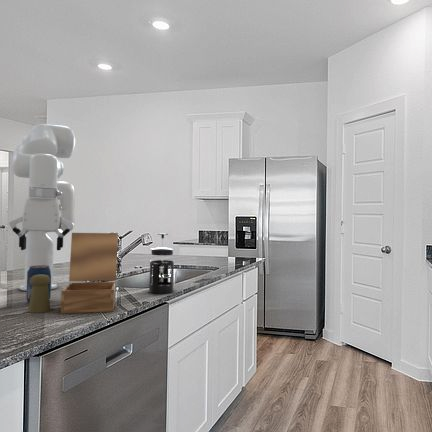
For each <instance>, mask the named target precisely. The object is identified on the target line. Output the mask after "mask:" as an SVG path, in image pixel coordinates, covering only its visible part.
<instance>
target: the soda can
mask: <svg viewBox="0 0 432 432" xmlns="http://www.w3.org/2000/svg"><path fill="white" fill-rule="evenodd" d="M39 274H44V275H48V276H49V277H50V282H49V284H48V292H49V300H50V301H51V295H52V294H51V293H52V289H51V270H50V268H49V266H45V265H42V266H30V268H29V270H28V272H27V291H26V301H27V303H28V304H29V303H30V297H31V292H32V284H31V277H32V276H34V275H39Z"/></svg>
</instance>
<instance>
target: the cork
mask: <svg viewBox="0 0 432 432" xmlns="http://www.w3.org/2000/svg"><path fill="white" fill-rule="evenodd" d="M49 282H50V277H49V276H48V275H44V274H39V275H34V276H32V277H31V284H32V292H31V297H30V303H28V309H27V312H28V313H32V314H33V313H35V314H37V313H46V312H50V311H51V310H52V309H51V302H50V301H51V299H50V300H49V292H48V284H49Z"/></svg>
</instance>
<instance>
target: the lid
mask: <svg viewBox="0 0 432 432" xmlns="http://www.w3.org/2000/svg"><path fill="white" fill-rule="evenodd" d="M118 243H119V233H116V232H115V233H114V232H113V233H112V232H71V242H70V258H69V259H70V261H69V276H68V277H69V278H68V282H117V272H118V271H117V269H118V245H119V244H118Z"/></svg>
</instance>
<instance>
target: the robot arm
mask: <svg viewBox="0 0 432 432" xmlns="http://www.w3.org/2000/svg"><path fill="white" fill-rule="evenodd" d="M75 145H76V135H75V132H74V131H73V129H72V128H70V127H69V126H65V125H57V124H50V123H49V124H48V123H38V124H35V125H34V126H32V128H31V129H30V131H29V133H28V134H25V135H24V136H23V137H22V138H21V143H19V145H17V146H16V147H15V148H14V150H13V154H12V159H11V170H12V173H13V174H14V175H15V176H16V177H18V178H24V179H29V180H28V197H27V198H25V201H24V206H23V213H22V216H20V217H18V218H16V219H13V220H12V221H9V223H8V224H9V226H10V228H11V229H12V232H13V233H15V234H16V235H17V237H18V247H19V248H20V250H21V251H24V282H23V284H21V285H20V286H19V290H20V291H24V292H27V272H28V270H29V268H30V266H42V265H45V266H49V268H50V270H51V290H56V289H57V288H58V284H57V283H53V282H54V281H53V280H54V279H53V278H54V250H55V249H54V248H55V246H54V245H55V244H54V241H53V240H52V238H50V236H49V235H48V234H47V233H55V234H56V235H57V237H56V251H61V250H62V248H63V247H64V237H65V236H67V235H68V234H69V233H70V232H72V231H73V230H74V228H75V222H76V221H75V220H76V209H75V208H76V196H75V194H76V193H75V188H74V185H73V184H72V183H71V182H68V181H58V179H60V178H61V176H62V175H63V174H64V170H65V168H64V167H65V166H64V162H62V160H61V159H70V158H71V157H72V156H73V155H74V150H75ZM20 223H21V227H22V229H20V228H18V226H17V225H18V224H20Z"/></svg>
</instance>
